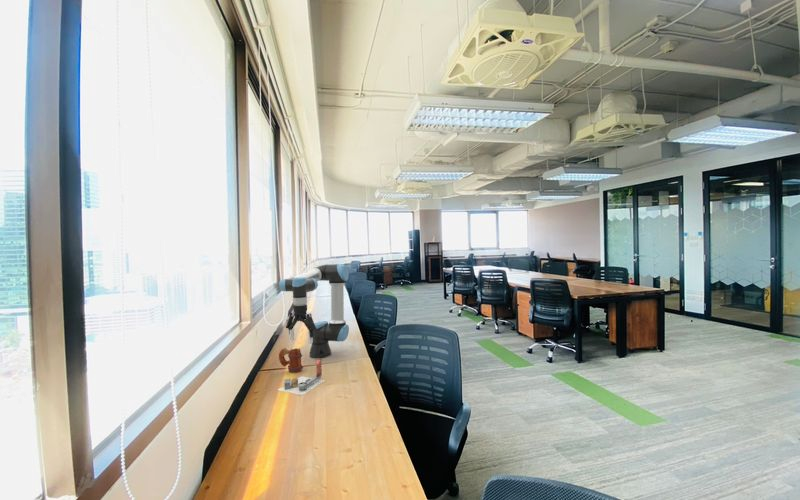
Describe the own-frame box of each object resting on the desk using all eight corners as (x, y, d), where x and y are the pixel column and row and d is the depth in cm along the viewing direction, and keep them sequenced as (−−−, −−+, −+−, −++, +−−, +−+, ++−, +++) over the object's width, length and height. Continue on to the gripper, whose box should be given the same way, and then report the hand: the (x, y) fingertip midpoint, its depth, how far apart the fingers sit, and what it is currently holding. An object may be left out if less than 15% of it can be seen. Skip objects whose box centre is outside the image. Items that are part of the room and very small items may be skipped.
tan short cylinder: (294, 384, 180) (294, 378, 180) (299, 385, 178) (299, 379, 178) (289, 387, 176) (289, 380, 176) (295, 388, 175) (294, 381, 175)
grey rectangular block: (285, 385, 178) (284, 379, 178) (290, 385, 179) (290, 378, 179) (284, 389, 173) (284, 383, 173) (290, 388, 174) (290, 382, 174)
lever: (303, 390, 170) (302, 370, 170) (296, 389, 172) (296, 369, 171) (324, 377, 186) (323, 359, 186) (317, 376, 188) (317, 358, 188)
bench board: (301, 378, 191) (301, 375, 191) (325, 382, 184) (325, 379, 184) (277, 392, 173) (277, 388, 173) (302, 397, 167) (302, 393, 167)
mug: (305, 370, 203) (304, 346, 203) (300, 375, 195) (299, 350, 195) (283, 369, 205) (282, 346, 205) (276, 374, 197) (276, 350, 197)
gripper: (278, 304, 185) (279, 341, 185) (313, 307, 174) (314, 346, 174) (288, 302, 191) (289, 337, 192) (322, 304, 181) (323, 342, 181)
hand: (301, 341), depth 183 cm, fingers open, 13 cm apart
